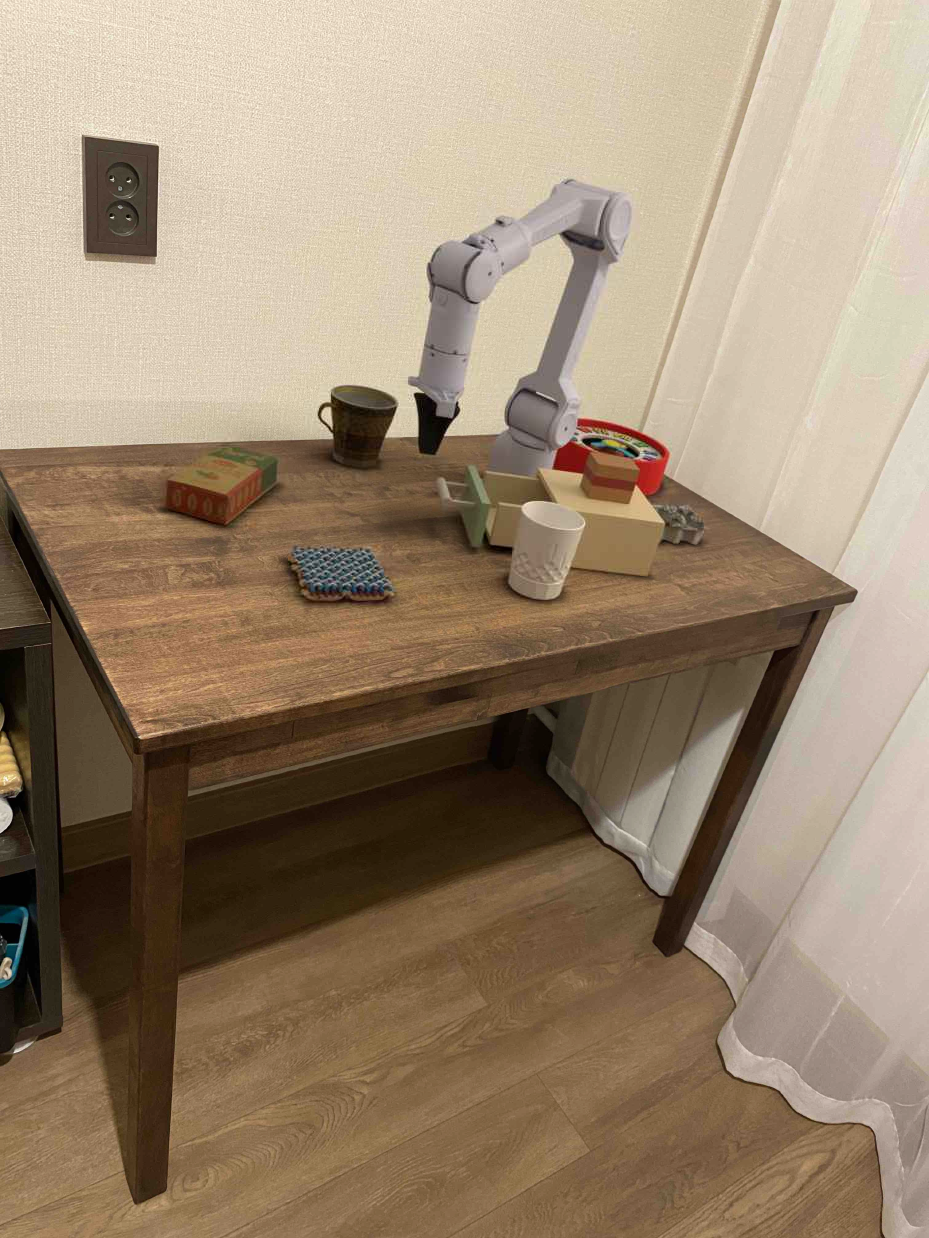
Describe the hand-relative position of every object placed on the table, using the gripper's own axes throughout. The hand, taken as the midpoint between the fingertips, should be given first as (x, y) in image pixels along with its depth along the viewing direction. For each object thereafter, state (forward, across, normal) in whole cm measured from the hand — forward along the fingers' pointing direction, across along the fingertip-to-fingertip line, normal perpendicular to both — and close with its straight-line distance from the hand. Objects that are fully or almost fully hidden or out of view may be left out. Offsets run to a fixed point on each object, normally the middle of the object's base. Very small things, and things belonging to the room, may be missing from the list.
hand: (426, 452), depth 118 cm
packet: (+2, 0, +25) cm, 25 cm away
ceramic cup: (+11, -20, -8) cm, 24 cm away
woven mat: (+11, +18, -10) cm, 23 cm away
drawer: (+9, 0, +11) cm, 15 cm away
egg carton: (+11, -9, +40) cm, 42 cm away
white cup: (+11, +14, +14) cm, 23 cm away
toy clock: (+11, -32, +37) cm, 50 cm away
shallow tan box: (+10, 0, +24) cm, 27 cm away
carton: (+11, -1, -25) cm, 27 cm away
